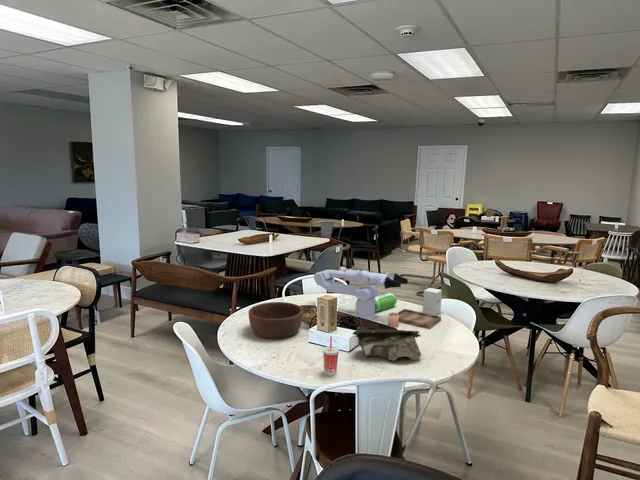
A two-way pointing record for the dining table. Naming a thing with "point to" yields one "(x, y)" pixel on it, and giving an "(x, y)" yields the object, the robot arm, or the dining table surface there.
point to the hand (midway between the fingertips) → (404, 283)
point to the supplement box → (432, 301)
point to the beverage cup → (330, 359)
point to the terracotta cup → (393, 319)
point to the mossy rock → (389, 343)
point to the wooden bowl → (275, 319)
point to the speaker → (385, 301)
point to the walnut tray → (418, 318)
